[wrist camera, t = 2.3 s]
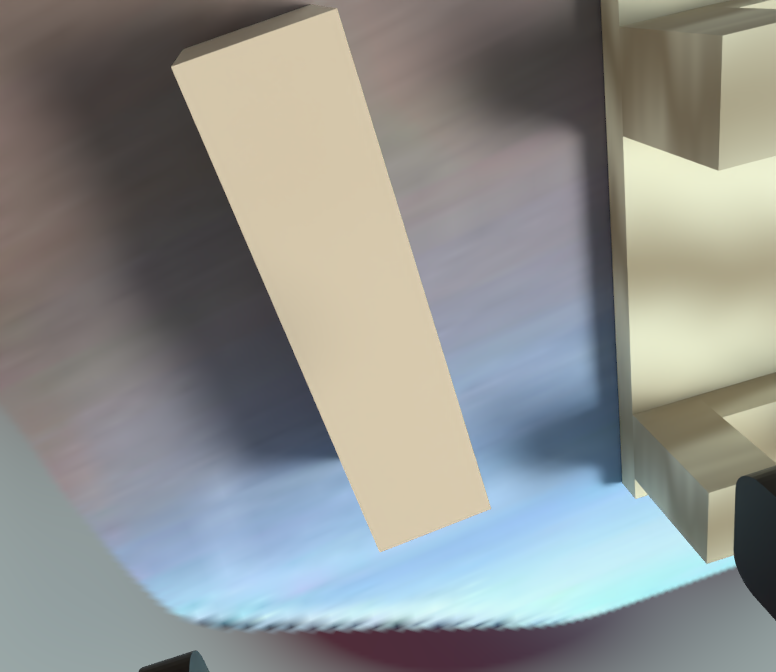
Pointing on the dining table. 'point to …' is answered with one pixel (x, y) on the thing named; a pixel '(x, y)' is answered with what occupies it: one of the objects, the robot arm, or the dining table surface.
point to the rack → (693, 251)
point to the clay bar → (336, 262)
